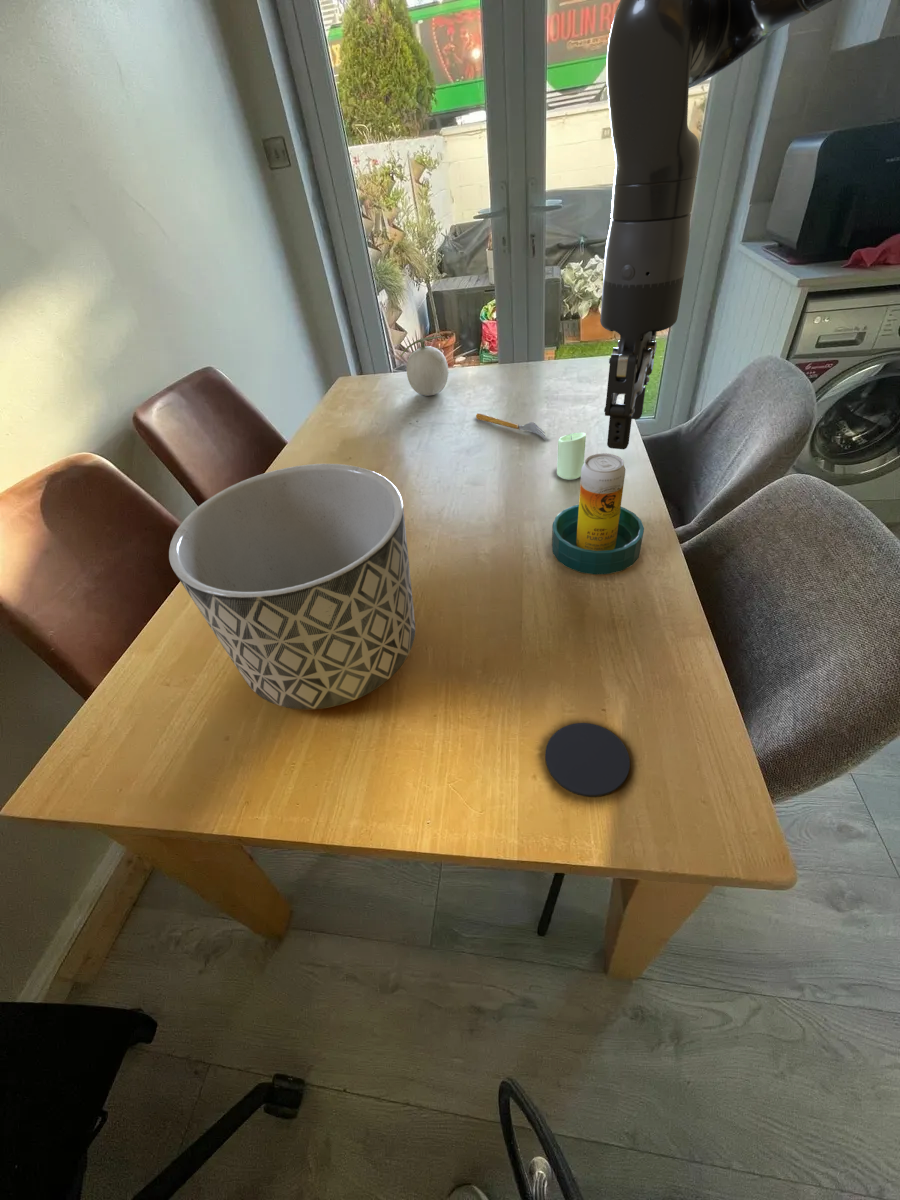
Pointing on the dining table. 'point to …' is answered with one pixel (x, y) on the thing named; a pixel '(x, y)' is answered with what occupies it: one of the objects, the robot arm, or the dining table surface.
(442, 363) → the fruit
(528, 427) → the fork
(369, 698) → the dining table surface
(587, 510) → the beer can
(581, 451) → the candle
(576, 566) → the bowl
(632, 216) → the robot arm
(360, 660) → the planter
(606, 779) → the coaster
